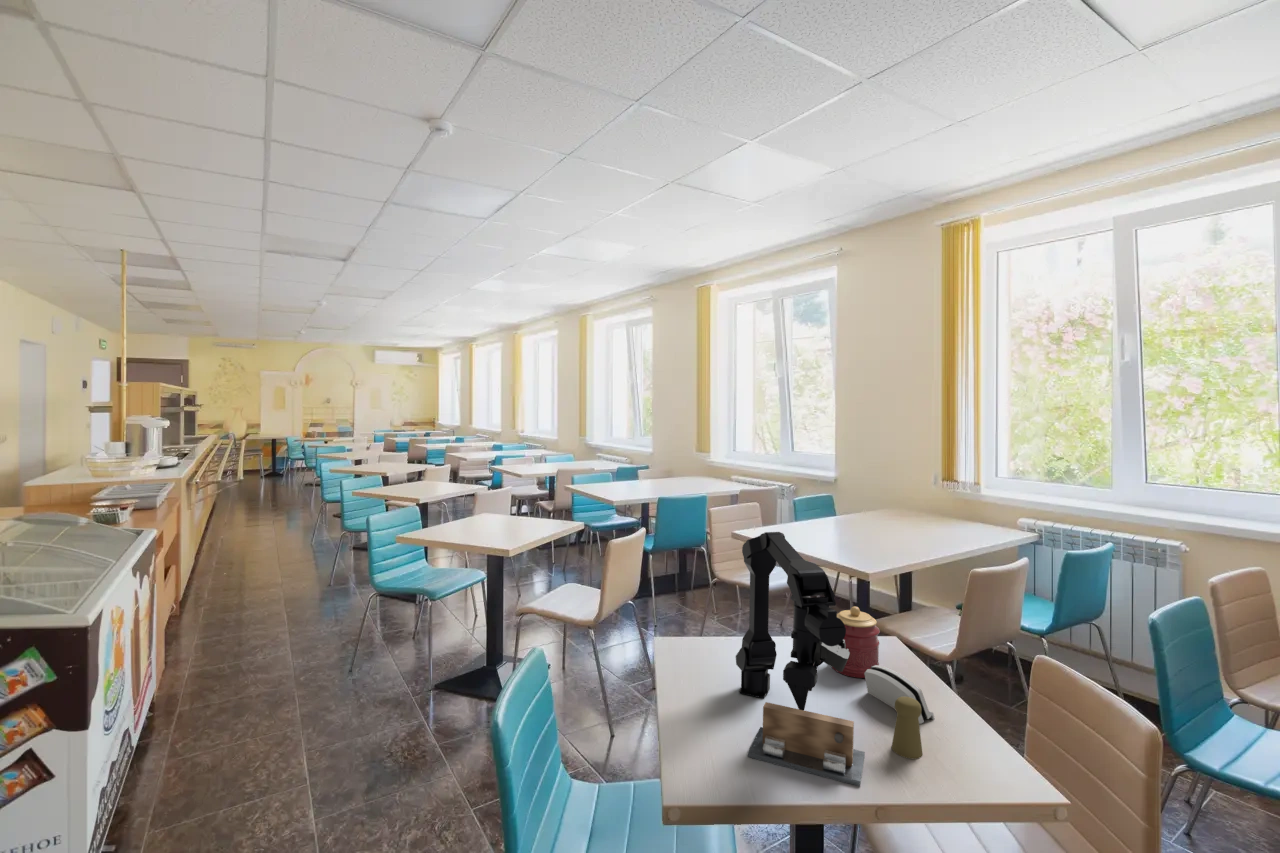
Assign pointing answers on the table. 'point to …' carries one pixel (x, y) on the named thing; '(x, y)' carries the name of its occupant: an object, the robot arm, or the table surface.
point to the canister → (859, 642)
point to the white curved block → (894, 688)
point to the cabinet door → (808, 731)
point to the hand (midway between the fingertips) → (805, 699)
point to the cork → (907, 728)
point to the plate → (808, 760)
